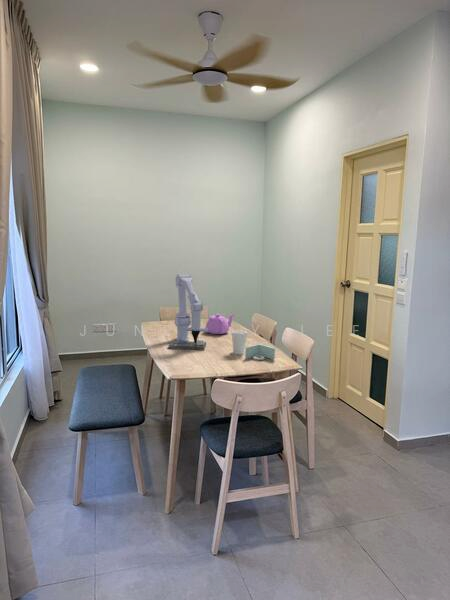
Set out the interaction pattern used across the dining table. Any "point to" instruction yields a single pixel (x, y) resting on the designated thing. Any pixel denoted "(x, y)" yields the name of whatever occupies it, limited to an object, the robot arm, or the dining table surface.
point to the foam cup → (239, 341)
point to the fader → (200, 341)
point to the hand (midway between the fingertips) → (195, 342)
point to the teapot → (218, 324)
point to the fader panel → (186, 345)
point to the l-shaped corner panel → (259, 352)
